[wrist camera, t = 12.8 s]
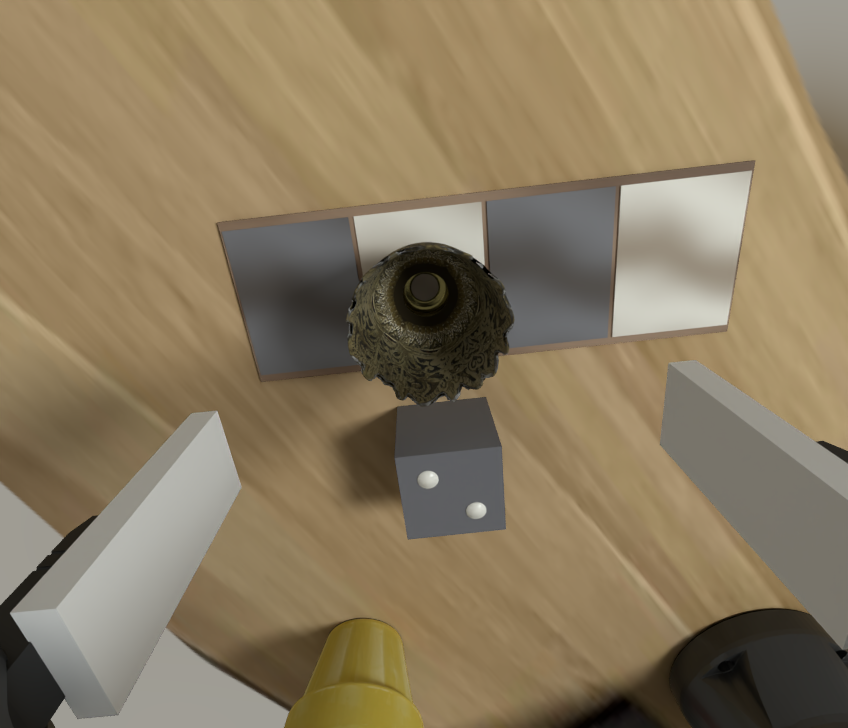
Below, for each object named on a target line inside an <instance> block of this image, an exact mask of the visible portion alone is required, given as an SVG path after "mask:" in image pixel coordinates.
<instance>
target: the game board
mask: <svg viewBox="0 0 848 728" xmlns="http://www.w3.org/2000/svg"><path fill="white" fill-rule="evenodd" d="M754 165H755V161H745V162H736V163H727V164H719V165H710V166H701V167H693V168H684V169H675V170H667V171H658V172H649V173H641V174H632V175H623V176H615V177H606V178H597V179H589V180H580V181H571V182H563V183H554V184H545V185H537V186H528V187H519V188H511V189H502V190H493V191H485V192H476V193H467V194H459V195H450V196H441V197H433V198H424V199H415V200H407V201H398V202H389V203H381V204H372V205H363V206H355V207H346V208H337V209H329V210H320V211H311V212H303V213H294V214H285V215H277V216H268V217H260V218H251V219H242V220H234V221H225V222H218V223H217V224H218V228H219V231H220V235H221V238H222V242H223V246H224V249H225V253H226V256H227V260H228V264H229V267H230V271H231V275H232V278H233V282H234V285H235V289H236V293H237V296H238V300H239V304H240V307H241V311H242V314H243V318H244V322H245V325H246V329H247V333H248V336H249V340H250V343H251V347H252V351H253V354H254V358H255V361H256V365H257V369H258V372H259V376H260V380H261V382H265V381H274V380H283V379H292V378H302V377H311V376H320V375H329V374H338V373H348V372H357V371H361V367H360V366H359V365H358V364H357V362H356V361H355V360H354V359H353V358H352V357H351V355H350V353H349V349H348V339H347V336H348V332H349V324H348V323H347V322H346V317H347V313H348V309H349V308H350V306H351V304H352V297H353V294H354V291H355V289H356V287H357V286H358V284H359V282H360V281H361V280H362V279H361V278H362V277H363V276H364V274H365V273H366V272H367V271H369V270H370V269H371V268H372V267H373V266H375V265H376V264H377V263H378V262H380V261H381V260H382V259H383V258H384V257H386V256H387V255H389V254H390V253H392V252H393V251H395V250H397V249H399V248H401V247H404V246H406V245H410V244H414V243H420V242H435V243H441V244H446V245H449V246H452V247H454V248H457V249H459V250H461V251H463V252H466V253H468V254H470V255H472V256H473V258H475V259H476V260H478V261H479V262H480V263H482V264H483V265H484V266H485V267H486V268H487V269H488V270H489V271H490V272H491V273H492V274H493V275H494V276H495V277H497V278H499V280H500V281H501V282H502V284H503V285H504V287H505V290H506V296H507V299H508V301H509V303H510V305H511V308H512V311H513V314H514V319H515V321H514V325H513V328H512V330H510V331H509V333H508V335H507V340H508V343H509V346H510V347H509V352H508V354H506V355H514V354H523V353H532V352H541V351H550V350H560V349H569V348H578V347H587V346H597V345H606V344H615V343H624V342H633V341H643V340H652V339H661V338H670V337H679V336H689V335H698V334H707V333H716V332H726V331H727V329H728V323H729V317H730V311H731V305H732V299H733V293H734V287H735V280H736V274H737V268H738V262H739V256H740V250H741V244H742V238H743V232H744V226H745V220H746V214H747V208H748V202H749V196H750V190H751V184H752V178H753V171H754ZM438 289H439V286H438V282H437V280H436V279H435V278H434V277H433V276H432V275H429V274H421V275H419V276H417V277H416V278H415V279H414V280H413V282H412V285H411V290H412V293H413V295H414V296H415V297H416V298H417V299H419V300H422V301H428V300H431V299H432V298H434V297H435V296H436V294H437V293H438ZM498 354H499V355H498V356H504V355H503V354H502V353H498Z"/></svg>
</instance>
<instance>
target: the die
mask: <svg viewBox="0 0 848 728" xmlns="http://www.w3.org/2000/svg"><path fill="white" fill-rule="evenodd" d="M395 464H396V470H397V476H398V482H399V488H400V494H401V501H402V507H403V513H404V519H405V525H406V531H407V538H408V539H417V538H427V537H436V536H446V535H455V534H465V533H475V532H484V531H494V530H503V529H506V523H505V503H504V483H503V463H502V446H501V443H500V440H499V437H498V433H497V430H496V427H495V424H494V421H493V418H492V415H491V412H490V408H489V405H488V402H487V399H486V397H481V398H472V399H463V400H456V401H455V402H451V401H444V402H435V403H433V404H431V405H429V406H425V407H421V406H418V405H408V406H399V407H397V422H396V441H395Z"/></svg>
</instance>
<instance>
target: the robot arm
mask: <svg viewBox="0 0 848 728" xmlns="http://www.w3.org/2000/svg"><path fill="white" fill-rule="evenodd" d="M660 445H661V446H662V448H663V449H664V450H665V451H666V452H667V453H668V454H669V455H670V457H671V458H672V459H673V460H674V461H675V462H676V463H677V464H678V466H679V467H680V468H681V469H682V470H683V471H684V472H685V473H686V475H687V476H688V477H689V478H690V479H691V480H692V481H693V482H694V484H695V485H696V486H697V487H698V488H699V489H700V490H701V491H702V493H703V494H704V495H705V496H706V497H707V498H708V499H709V500H710V502H711V503H712V504H713V505H714V506H715V507H716V508H717V509H718V511H719V512H720V513H721V514H722V515H723V516H724V517H725V518H726V520H727V521H728V522H729V523H730V524H731V525H732V526H733V527H734V529H735V530H736V531H737V532H738V533H739V534H740V535H741V536H742V538H743V539H744V540H745V541H746V542H747V543H748V544H749V545H750V547H751V548H752V549H753V550H754V551H755V552H756V553H757V554H758V556H759V557H760V558H761V559H762V560H763V561H764V562H765V563H766V565H767V566H768V567H769V568H770V569H771V570H772V571H773V572H774V573H775V575H776V576H777V577H778V578H779V579H780V580H781V581H782V582H783V584H784V585H785V586H786V587H787V588H788V589H789V590H790V591H791V593H792V594H793V595H794V596H795V597H796V598H797V599H798V600H799V602H800V603H801V604H802V605H803V606H804V607H805V608H806V609H807V611H808V612H809V613H810V614H811V615H810V614H807V613H804V612H799V611H793V610H765V611H758V612H752V613H748V614H744V615H740V616H737V617H734V618H731V619H729V620H726V621H724V622H721V623H719V624H717V625H715V626H713V627H711V628H710V629H708V630H706V631H705V632H703V633H702V634H700V635H699V636H697V637H696V638H695V639H694V640H692V641H691V642H690V643H689V644H688V645H687V646H686V647H685V648H684V649H683V650H682V651H681V653H680V654H679V655H678V657H677V658H676V660H675V662H674V664H673V666H672V669H671V672H670V678H669V682H670V688H671V691H672V693H673V695H674V697H675V699H676V701H677V703H678V705H679V707H680V709H681V711H682V713H683V715H684V717H685V718H686V720H687V721H688V723H689V724H690V725H691V727H692V728H848V451H846V450H844V449H841V448H839V447H837V446H834V445H832V444H829V443H827V442H824V441H818V442H815V441H814V440H812V439H811V438H809V437H808V436H806V435H805V434H803V433H802V432H800V431H799V430H798V429H796V428H795V427H793V426H792V425H790V424H789V423H787V422H786V421H784V420H783V419H781V418H780V417H778V416H777V415H776V414H774V413H773V412H771V411H770V410H768V409H767V408H765V407H764V406H762V405H761V404H759V403H758V402H756V401H755V400H753V399H752V398H751V397H749V396H748V395H746V394H745V393H743V392H742V391H740V390H739V389H737V388H736V387H734V386H733V385H731V384H730V383H729V382H727V381H726V380H724V379H723V378H721V377H720V376H718V375H717V374H715V373H714V372H712V371H711V370H709V369H708V368H706V367H705V366H704V365H702V364H701V363H699V362H698V361H696V360H691V361H682V362H672V363H669V364H668V373H667V383H666V392H665V401H664V411H663V420H662V430H661V439H660ZM240 489H241V484H240V481H239V478H238V474H237V471H236V468H235V465H234V462H233V459H232V456H231V452H230V449H229V446H228V443H227V440H226V437H225V434H224V430H223V427H222V424H221V421H220V418H219V415H218V412H217V411H208V412H199V413H191V414H190V415H189V416H188V418H187V419H186V420H185V421H184V422H183V423H182V424H181V425H180V426H179V427H178V429H177V430H176V431H175V432H174V433H173V434H172V435H171V436H170V437H169V438H168V440H167V441H166V442H165V443H164V444H163V445H162V446H161V447H160V448H159V449H158V451H157V452H156V453H155V454H154V455H153V456H152V457H151V458H150V459H149V460H148V462H147V463H146V464H145V465H144V466H143V467H142V468H141V469H140V470H139V471H138V473H137V474H136V475H135V476H134V477H133V478H132V479H131V480H130V481H129V482H128V484H127V485H126V486H125V487H124V488H123V489H122V490H121V491H120V492H119V493H118V495H117V496H116V497H115V498H114V499H113V500H112V501H111V502H110V503H109V504H108V506H107V507H106V508H105V509H104V510H103V511H102V512H101V513H100V514H99V515H98V516H92V517H91V518H89V519H88V520H87V521H85V522H84V523H82V524H81V525H80V526H78V527H77V528H75V529H74V530H72V531H71V532H70V533H69V534H68V535H67V536H66V537H65V538H64V539H63V540H62V541H61V542H60V543H59V544H58V545H57V546H56V547H55V548H54V549H53V550H52V554H51V555H48V556H47V557H46V558H45V559H44V560H43V561H42V562H41V563H40V564H39V565H38V566H37V570H36V571H33V572H32V573H31V574H30V575H29V576H28V577H27V578H26V579H25V580H24V581H23V582H22V583H21V584H20V585H19V586H18V587H17V589H16V590H15V591H14V592H13V593H12V594H11V595H10V596H9V597H8V598H7V599H6V600H5V601H4V602H3V603H2V604H1V605H0V728H55V726H54V724H53V723H52V721H51V720H50V719H51V718H52V716H53V715H54V713H55V712H56V710H57V709H58V707H59V706H60V704H61V703H62V701H63V700H64V699H65V700H66V702H67V703H68V705H69V706H70V708H71V709H72V711H73V713H74V714H75V716H76V717H77V719H81V718H92V717H103V716H115V715H118V714H119V713H120V711H121V709H122V707H123V705H124V703H125V702H126V700H127V698H128V696H129V694H130V692H131V690H132V689H133V687H134V685H135V683H136V681H137V679H138V678H139V676H140V674H141V672H142V670H143V668H144V666H145V665H146V662H147V661H148V659H149V657H150V655H151V654H152V652H153V650H154V648H155V646H156V644H157V642H158V641H159V639H160V637H161V635H162V633H163V631H164V629H165V628H166V626H167V624H168V622H169V620H170V618H171V617H172V615H173V613H174V611H175V609H176V607H177V605H178V604H179V602H180V600H181V598H182V596H183V594H184V593H185V591H186V589H187V587H188V585H189V583H190V581H191V580H192V578H193V576H194V574H195V572H196V570H197V569H198V567H199V565H200V563H201V561H202V559H203V557H204V556H205V554H206V552H207V550H208V548H209V546H210V545H211V543H212V541H213V539H214V537H215V535H216V533H217V532H218V530H219V528H220V526H221V524H222V522H223V520H224V519H225V517H226V515H227V513H228V511H229V509H230V508H231V506H232V504H233V502H234V500H235V498H236V496H237V495H238V493H239V491H240Z"/></svg>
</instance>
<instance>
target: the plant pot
mask: <svg viewBox="0 0 848 728" xmlns="http://www.w3.org/2000/svg"><path fill="white" fill-rule="evenodd" d="M284 728H423V721H422V718H421V715H420V713H419V711H418V709H417V708H416V706H415V705H414V704H413V701H412V695H411V690H410V684H409V679H408V673H407V668H406V662H405V656H404V650H403V644H402V640H401V638H400V636H399V634H398V633H397V631H396V630H395V629H394V628H392V627H391V626H389V625H388V624H386V623H384V622H381V621H378V620H374V619H353V620H349V621H346V622H344V623H341V624H340V625H338V626H337V627H335V628H334V629H333V630H332V631H331V633H330V634H329V636H328V638H327V640H326V643H325V645H324V648H323V650H322V653H321V655H320V657H319V660H318V662H317V665H316V667H315V669H314V672H313V674H312V676H311V679H310V681H309V683H308V686H307V688H306V690H305V693H304V695H303V697H301V698H300V699H299V700H298V701H297V702H296V703H295V704H294V706H293V707H292V709H291V710H290V712H289V714H288V717H287V720H286V723H285V727H284Z"/></svg>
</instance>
